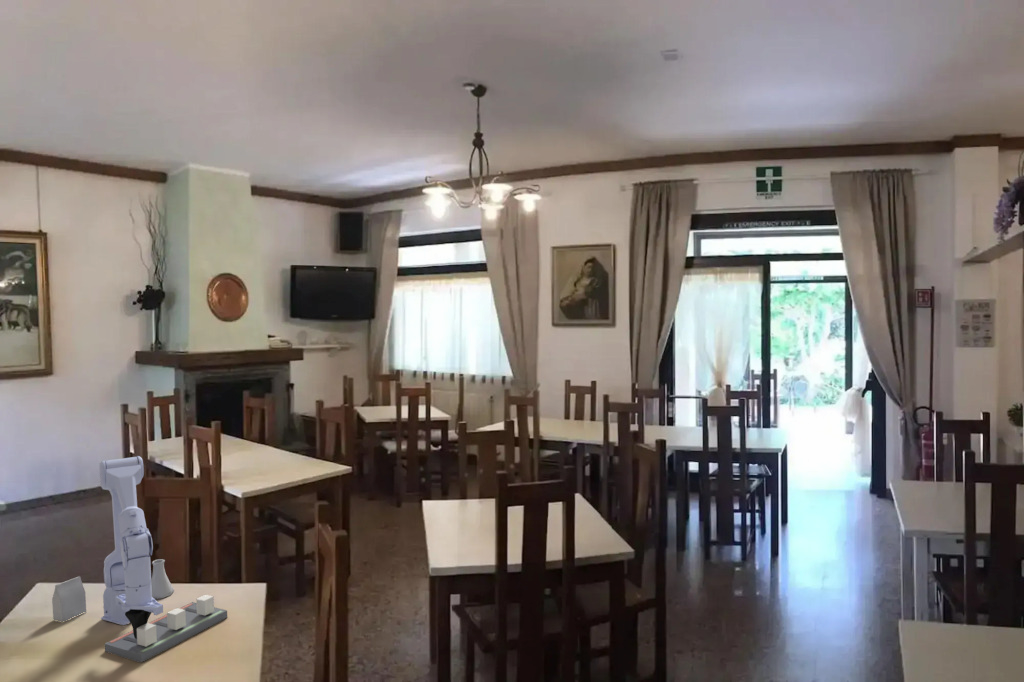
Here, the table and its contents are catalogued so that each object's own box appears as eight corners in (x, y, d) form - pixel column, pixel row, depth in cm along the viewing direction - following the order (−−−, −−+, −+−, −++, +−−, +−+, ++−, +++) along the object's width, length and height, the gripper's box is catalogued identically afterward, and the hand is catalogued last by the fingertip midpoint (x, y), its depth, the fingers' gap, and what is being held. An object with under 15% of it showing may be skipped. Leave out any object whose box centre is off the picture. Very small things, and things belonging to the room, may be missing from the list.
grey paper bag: (86, 612, 198) (84, 577, 198) (62, 623, 192) (60, 586, 191) (77, 610, 200) (75, 575, 199) (53, 620, 194) (51, 584, 193)
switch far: (196, 613, 191) (196, 598, 191) (206, 609, 194) (205, 594, 193) (205, 615, 190) (204, 600, 189) (214, 611, 192) (213, 596, 192)
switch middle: (167, 627, 183) (167, 612, 183) (177, 622, 186) (177, 607, 185) (176, 630, 182) (175, 614, 181) (185, 625, 184) (185, 610, 184)
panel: (104, 651, 176) (104, 643, 176) (193, 609, 200) (192, 601, 199) (141, 662, 171) (140, 654, 170) (227, 617, 194) (227, 610, 194)
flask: (162, 600, 205) (160, 566, 205) (140, 599, 207) (138, 564, 206) (179, 590, 212) (177, 557, 212) (157, 588, 214) (155, 555, 213)
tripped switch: (137, 644, 175) (136, 628, 174) (148, 638, 177) (147, 622, 177) (145, 646, 173) (145, 630, 173) (156, 641, 176) (156, 625, 176)
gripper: (103, 584, 175) (105, 638, 176) (143, 594, 169) (146, 650, 169) (129, 573, 181) (131, 626, 182) (169, 583, 175) (172, 637, 176)
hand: (140, 637), depth 176 cm, fingers closed
